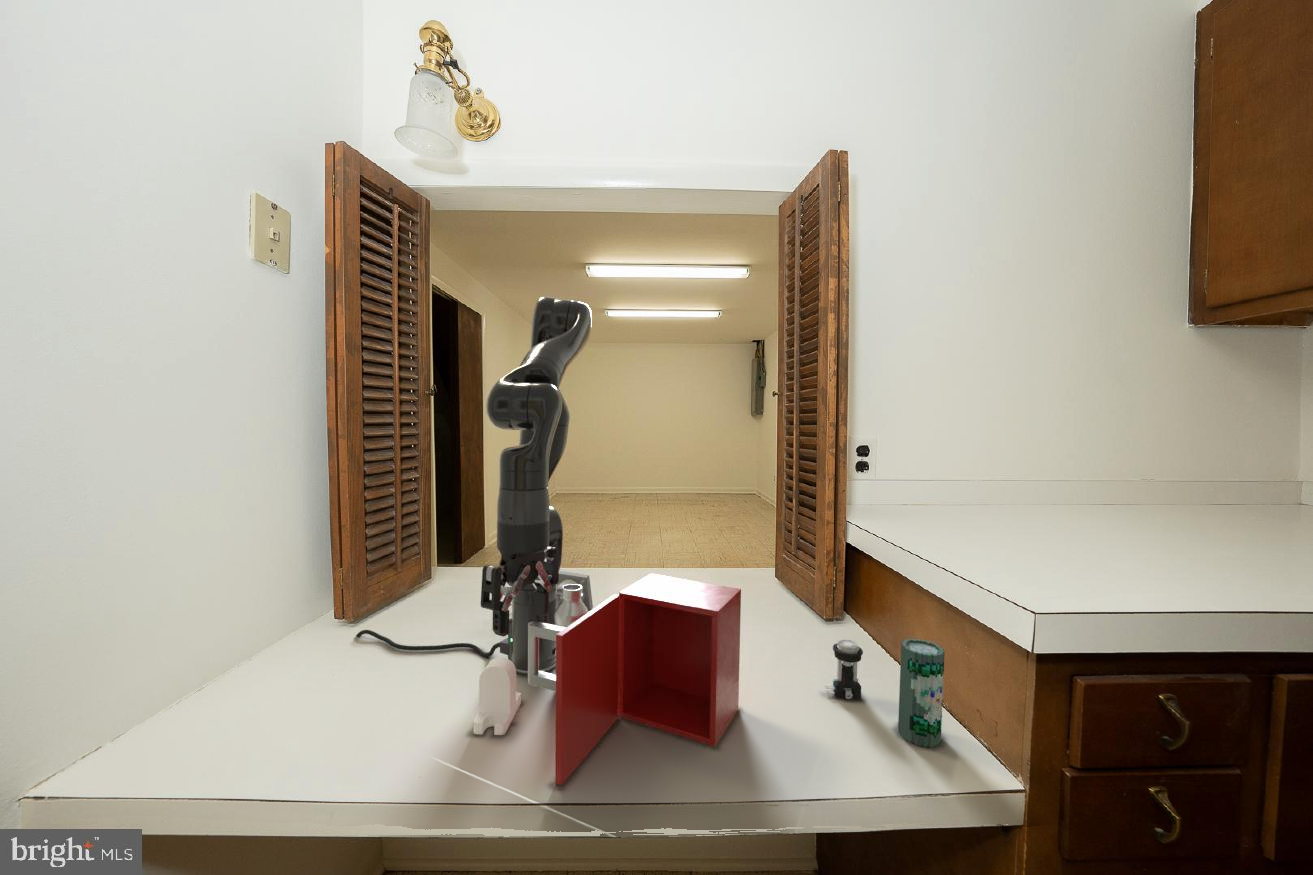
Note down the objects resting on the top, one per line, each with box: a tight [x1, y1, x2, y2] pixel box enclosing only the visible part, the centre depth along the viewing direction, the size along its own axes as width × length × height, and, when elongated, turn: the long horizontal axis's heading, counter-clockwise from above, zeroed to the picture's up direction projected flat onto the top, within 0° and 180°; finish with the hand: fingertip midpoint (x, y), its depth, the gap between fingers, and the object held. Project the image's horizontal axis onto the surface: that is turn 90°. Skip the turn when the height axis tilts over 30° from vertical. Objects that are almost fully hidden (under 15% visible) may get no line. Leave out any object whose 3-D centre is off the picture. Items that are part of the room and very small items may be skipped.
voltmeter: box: [503, 570, 594, 612], centre depth 138 cm, size 27×11×10 cm, turn 103°
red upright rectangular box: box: [618, 573, 742, 747], centre depth 93 cm, size 12×18×22 cm, turn 63°
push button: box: [824, 639, 864, 700], centre depth 100 cm, size 7×5×10 cm
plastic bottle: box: [554, 584, 589, 674], centre depth 100 cm, size 6×7×20 cm
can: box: [897, 638, 946, 748], centre depth 88 cm, size 6×6×15 cm
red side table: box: [527, 594, 619, 787], centre depth 84 cm, size 7×18×22 cm, turn 158°
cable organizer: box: [473, 656, 522, 736], centre depth 91 cm, size 5×10×10 cm, turn 178°
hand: (522, 624), depth 79 cm, fingers open, 8 cm apart
